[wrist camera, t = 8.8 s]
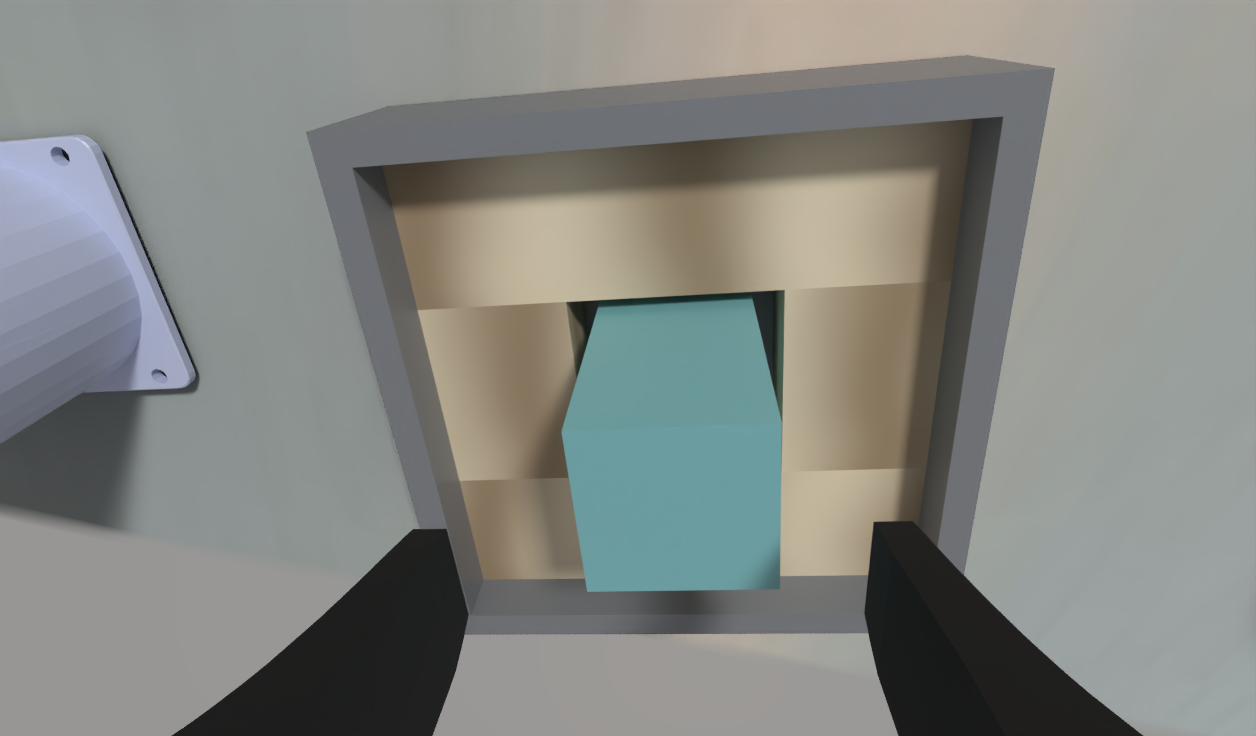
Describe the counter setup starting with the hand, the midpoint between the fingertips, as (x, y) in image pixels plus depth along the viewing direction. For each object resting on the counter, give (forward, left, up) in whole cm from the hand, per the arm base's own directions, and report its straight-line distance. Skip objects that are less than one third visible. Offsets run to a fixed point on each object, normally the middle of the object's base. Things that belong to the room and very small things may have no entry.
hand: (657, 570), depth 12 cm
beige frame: (0, -1, -10) cm, 10 cm away
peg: (0, 0, -10) cm, 10 cm away
